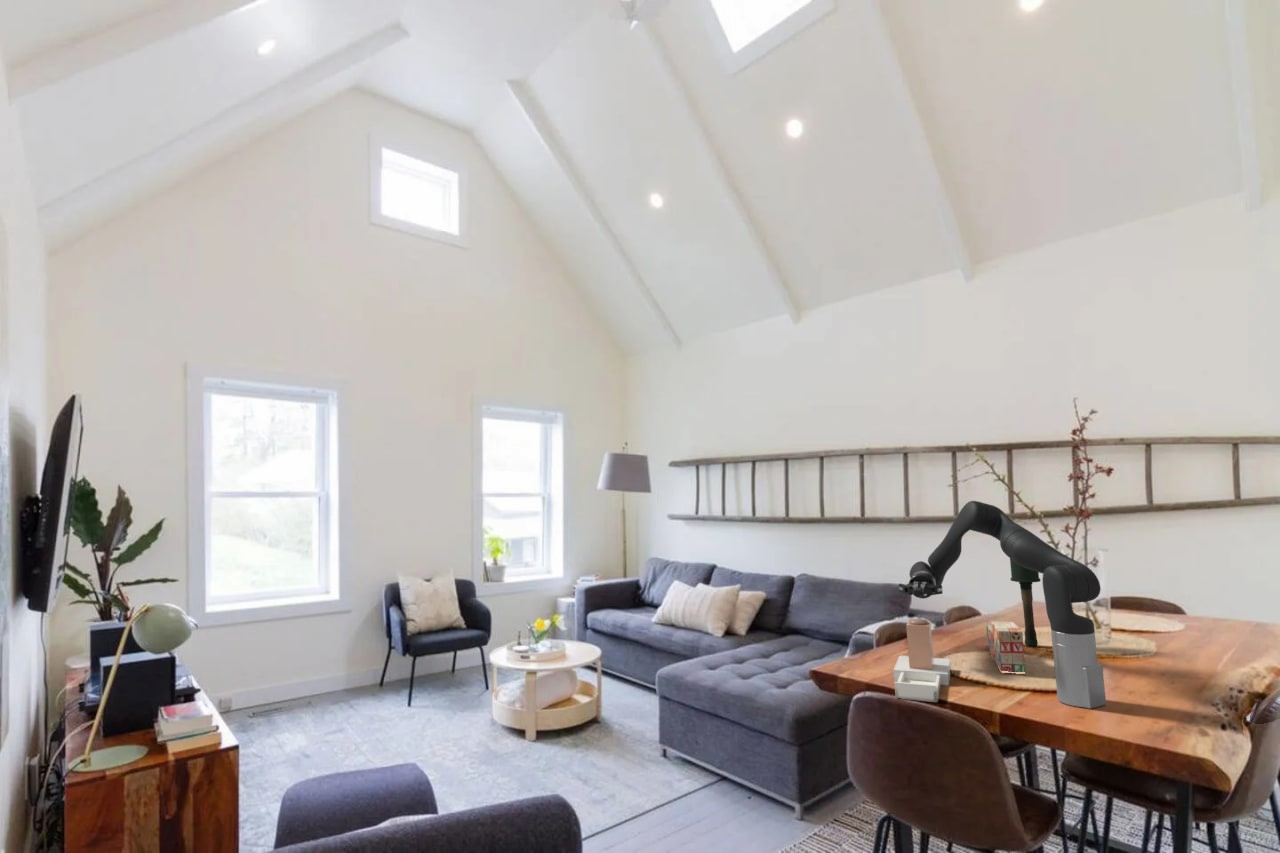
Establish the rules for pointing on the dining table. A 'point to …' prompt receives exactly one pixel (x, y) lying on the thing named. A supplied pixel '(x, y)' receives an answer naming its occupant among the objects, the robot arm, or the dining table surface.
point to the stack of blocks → (1006, 646)
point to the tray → (917, 689)
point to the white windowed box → (923, 671)
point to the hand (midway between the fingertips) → (918, 593)
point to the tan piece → (920, 644)
